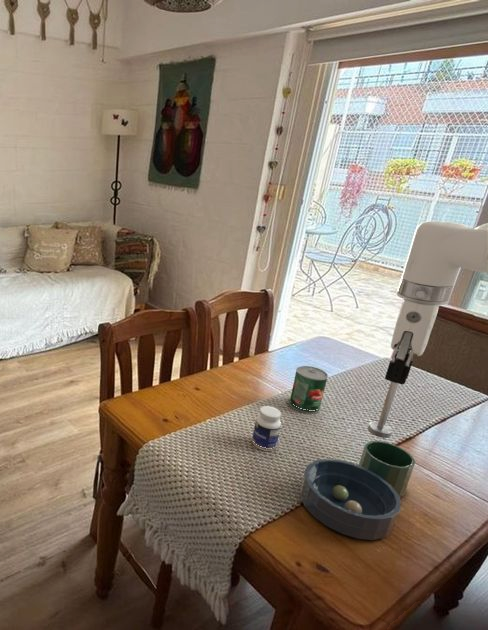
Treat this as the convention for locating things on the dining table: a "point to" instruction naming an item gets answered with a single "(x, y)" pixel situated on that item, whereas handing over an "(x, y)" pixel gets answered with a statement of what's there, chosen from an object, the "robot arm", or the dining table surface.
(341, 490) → the ball
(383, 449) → the cup
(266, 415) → the pill bottle
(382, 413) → the black-handled disc rod
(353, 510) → the ball
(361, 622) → the dining table surface
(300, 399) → the canned tomato
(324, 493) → the bowl
